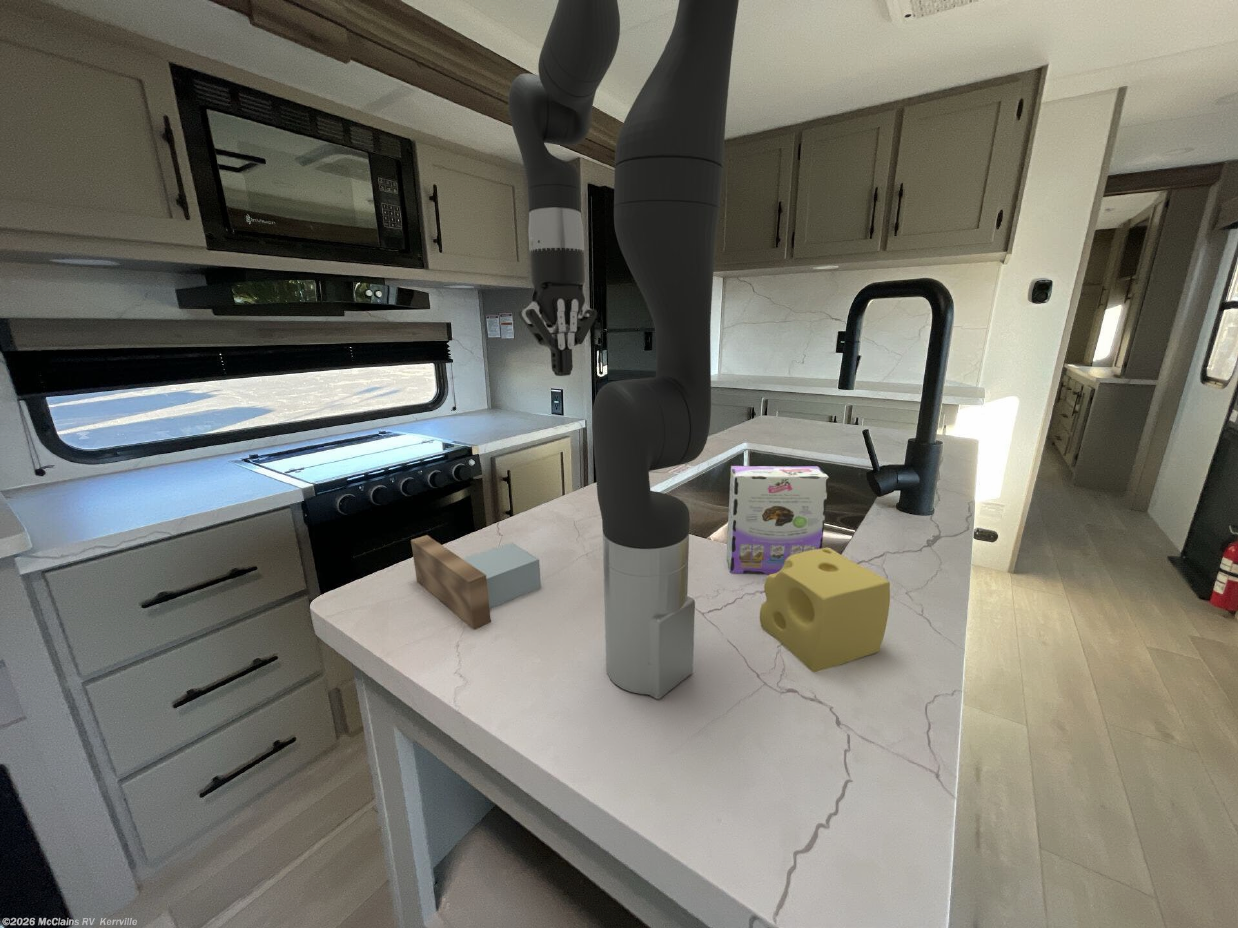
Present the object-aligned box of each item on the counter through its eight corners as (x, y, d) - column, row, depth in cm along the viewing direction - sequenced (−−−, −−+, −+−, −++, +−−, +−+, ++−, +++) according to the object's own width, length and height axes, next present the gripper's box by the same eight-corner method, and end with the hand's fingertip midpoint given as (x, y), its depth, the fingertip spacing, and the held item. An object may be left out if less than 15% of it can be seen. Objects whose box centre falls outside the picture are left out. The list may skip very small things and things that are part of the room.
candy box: (809, 559, 83) (819, 464, 78) (819, 577, 77) (831, 476, 72) (725, 556, 84) (730, 463, 79) (729, 574, 78) (734, 474, 74)
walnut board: (490, 621, 67) (486, 574, 65) (473, 629, 65) (468, 581, 63) (432, 575, 79) (426, 535, 77) (416, 580, 78) (410, 539, 76)
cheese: (757, 626, 65) (763, 557, 62) (823, 609, 69) (831, 543, 66) (814, 678, 56) (823, 599, 53) (886, 654, 59) (898, 580, 56)
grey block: (541, 589, 75) (539, 559, 74) (479, 614, 69) (476, 582, 68) (514, 570, 81) (512, 542, 80) (455, 592, 75) (452, 562, 73)
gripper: (532, 241, 62) (541, 381, 67) (610, 250, 70) (612, 373, 75) (500, 248, 67) (510, 377, 72) (576, 255, 76) (580, 370, 81)
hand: (562, 375), depth 74 cm, fingers closed
